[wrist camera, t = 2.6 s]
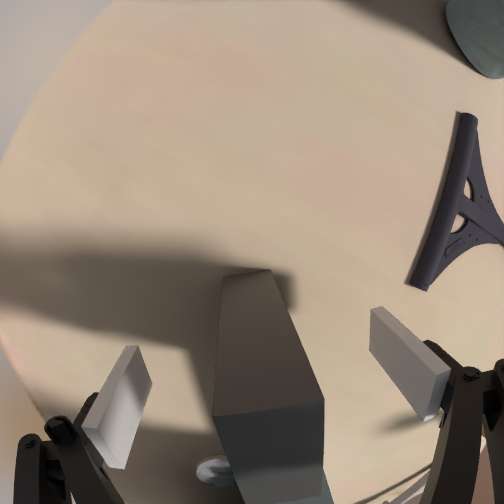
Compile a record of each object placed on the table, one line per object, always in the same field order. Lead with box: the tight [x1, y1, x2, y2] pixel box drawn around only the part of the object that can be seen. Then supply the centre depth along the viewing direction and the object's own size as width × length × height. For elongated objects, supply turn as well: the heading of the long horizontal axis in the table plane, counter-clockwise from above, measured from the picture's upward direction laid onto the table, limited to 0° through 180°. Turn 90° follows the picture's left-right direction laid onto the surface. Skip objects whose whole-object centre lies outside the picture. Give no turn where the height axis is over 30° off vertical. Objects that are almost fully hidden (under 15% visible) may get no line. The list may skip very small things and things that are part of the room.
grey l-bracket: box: [212, 270, 324, 504], centre depth 15 cm, size 20×3×12 cm, turn 8°
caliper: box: [382, 471, 430, 504], centre depth 25 cm, size 20×1×6 cm, turn 125°
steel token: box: [196, 455, 237, 487], centre depth 23 cm, size 5×5×1 cm
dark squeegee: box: [410, 113, 504, 292], centre depth 19 cm, size 14×15×3 cm
